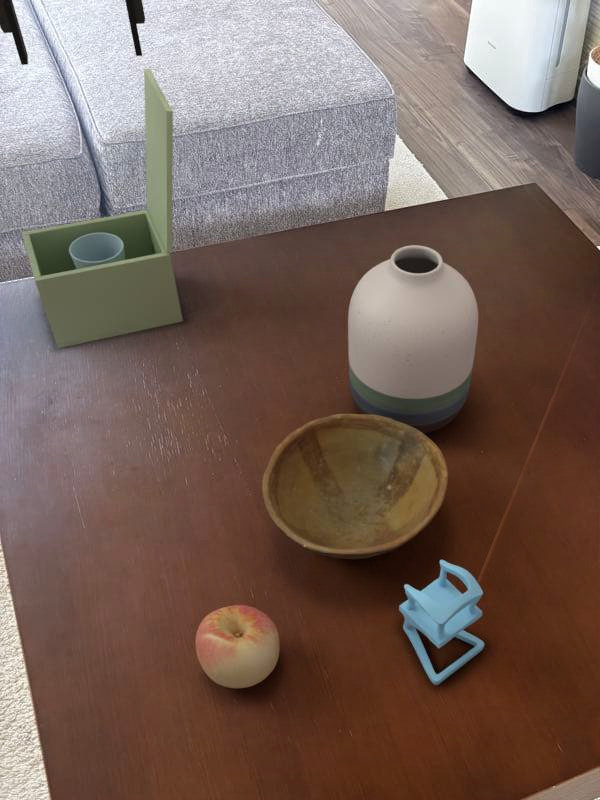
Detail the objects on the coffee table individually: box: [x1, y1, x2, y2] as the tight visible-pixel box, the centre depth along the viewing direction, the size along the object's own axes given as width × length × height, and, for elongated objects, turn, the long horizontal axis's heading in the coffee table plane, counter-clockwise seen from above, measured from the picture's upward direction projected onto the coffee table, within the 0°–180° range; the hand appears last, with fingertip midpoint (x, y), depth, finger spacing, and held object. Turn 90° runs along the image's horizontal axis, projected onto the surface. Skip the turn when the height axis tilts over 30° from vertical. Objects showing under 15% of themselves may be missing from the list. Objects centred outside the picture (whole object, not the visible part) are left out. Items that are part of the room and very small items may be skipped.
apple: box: [195, 604, 281, 689], centre depth 93 cm, size 9×9×8 cm
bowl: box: [261, 413, 449, 560], centre depth 105 cm, size 22×23×10 cm
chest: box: [21, 209, 184, 349], centre depth 130 cm, size 19×13×12 cm
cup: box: [69, 233, 125, 269], centre depth 130 cm, size 8×8×10 cm
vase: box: [347, 244, 479, 435], centre depth 114 cm, size 17×17×24 cm
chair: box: [398, 559, 485, 686], centre depth 94 cm, size 8×8×12 cm
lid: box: [143, 68, 174, 253], centre depth 120 cm, size 20×13×1 cm
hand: (82, 55), depth 107 cm, fingers open, 13 cm apart
